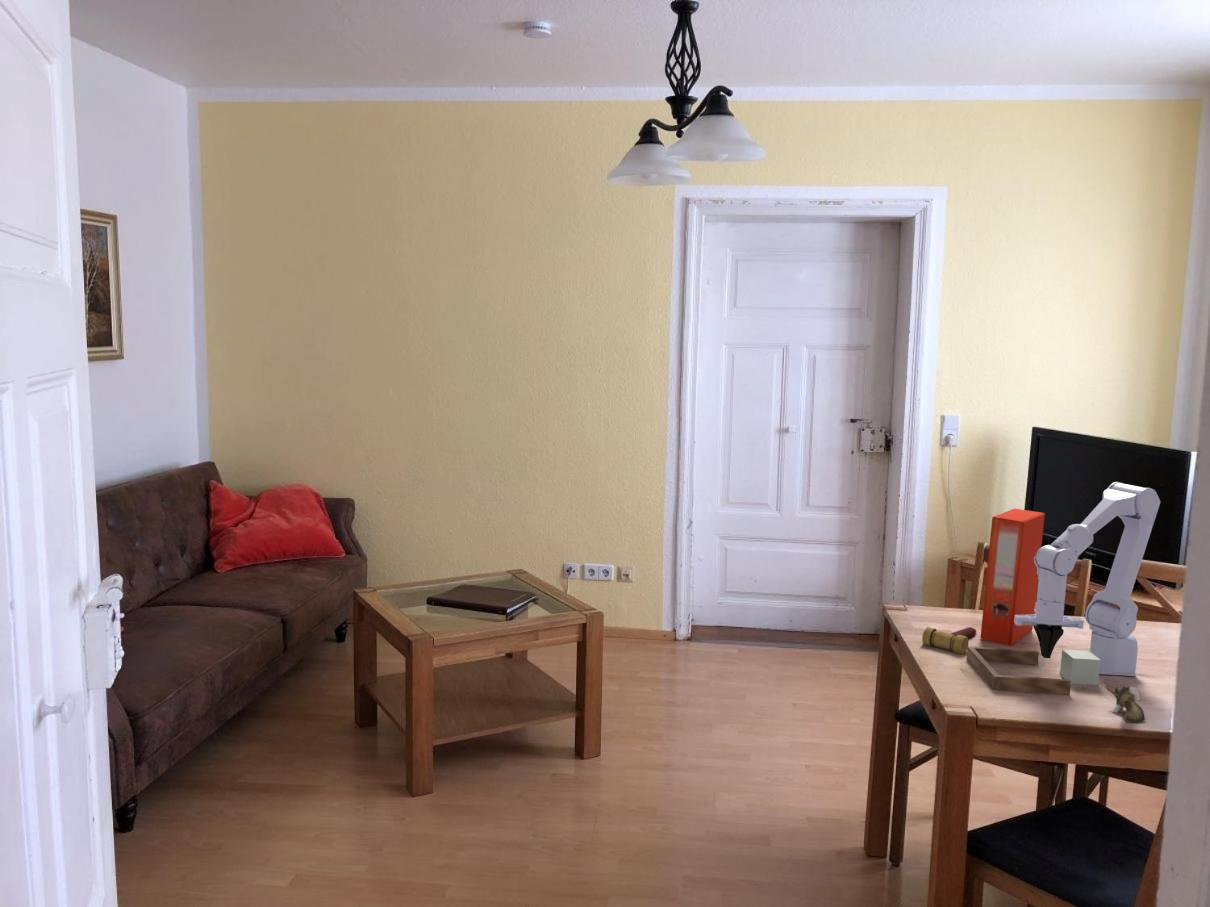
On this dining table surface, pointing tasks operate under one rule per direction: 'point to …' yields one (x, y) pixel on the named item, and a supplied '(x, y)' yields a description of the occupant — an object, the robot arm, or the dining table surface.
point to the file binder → (1011, 574)
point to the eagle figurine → (1128, 703)
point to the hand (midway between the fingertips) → (1045, 656)
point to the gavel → (948, 639)
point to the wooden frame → (1014, 683)
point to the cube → (1080, 667)
